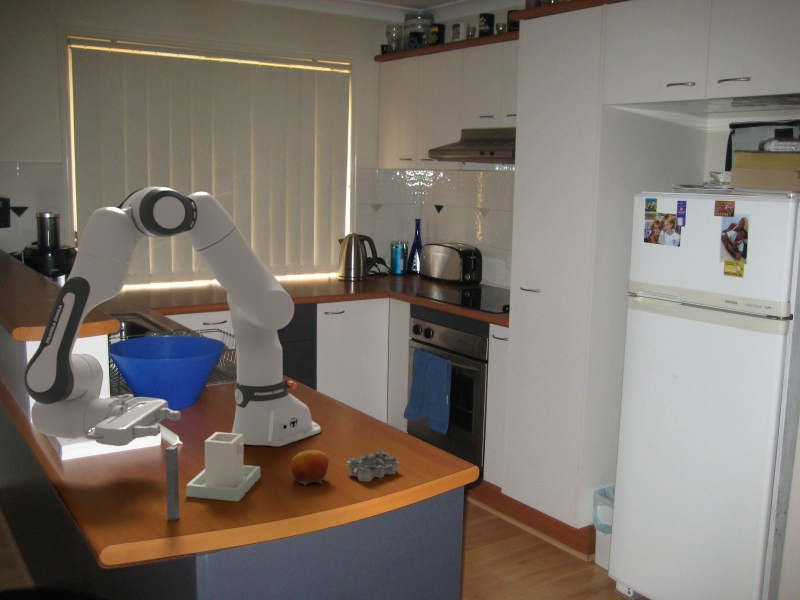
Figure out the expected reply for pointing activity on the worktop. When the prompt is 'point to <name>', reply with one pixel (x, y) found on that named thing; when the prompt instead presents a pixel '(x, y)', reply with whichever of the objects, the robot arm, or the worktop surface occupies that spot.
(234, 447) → the white square cup
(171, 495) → the post
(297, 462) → the fruit
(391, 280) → the worktop surface
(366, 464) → the egg carton
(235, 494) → the tray
